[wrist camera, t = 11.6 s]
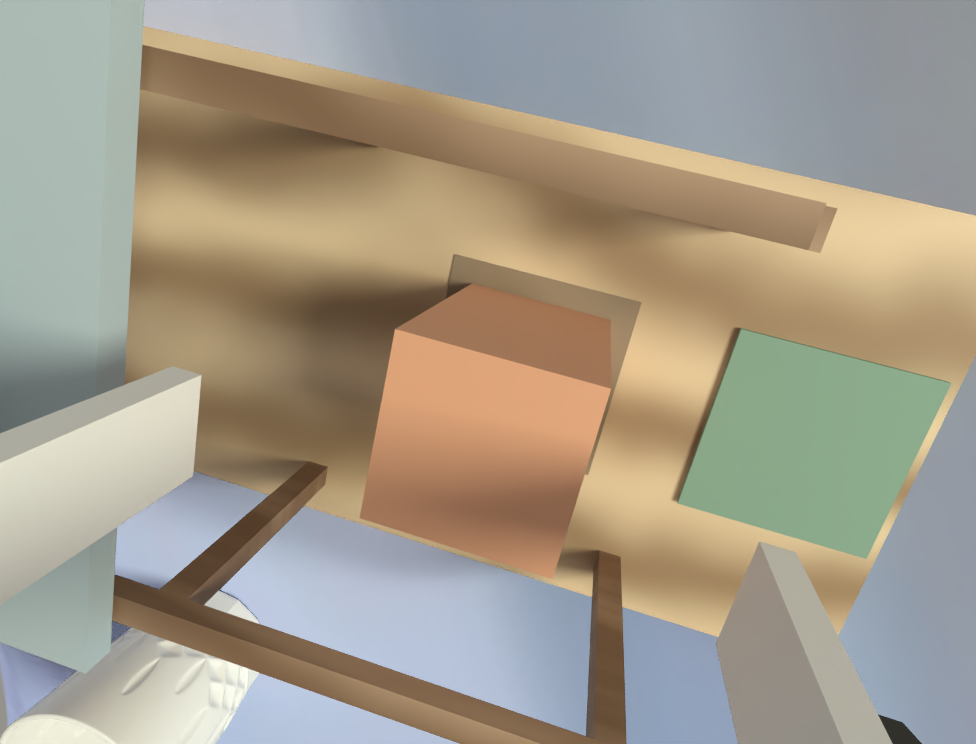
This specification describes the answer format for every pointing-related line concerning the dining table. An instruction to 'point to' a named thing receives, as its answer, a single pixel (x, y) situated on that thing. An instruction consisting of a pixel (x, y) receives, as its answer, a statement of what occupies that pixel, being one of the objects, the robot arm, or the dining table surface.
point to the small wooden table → (505, 267)
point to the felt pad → (809, 441)
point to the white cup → (142, 695)
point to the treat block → (489, 425)
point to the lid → (66, 264)
